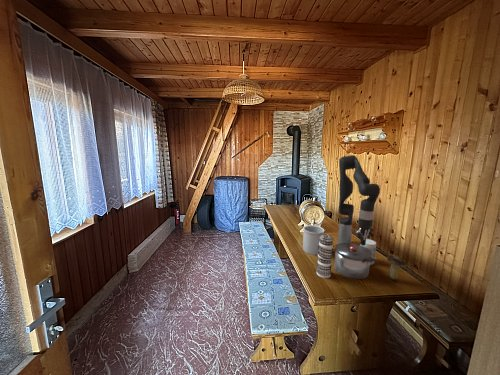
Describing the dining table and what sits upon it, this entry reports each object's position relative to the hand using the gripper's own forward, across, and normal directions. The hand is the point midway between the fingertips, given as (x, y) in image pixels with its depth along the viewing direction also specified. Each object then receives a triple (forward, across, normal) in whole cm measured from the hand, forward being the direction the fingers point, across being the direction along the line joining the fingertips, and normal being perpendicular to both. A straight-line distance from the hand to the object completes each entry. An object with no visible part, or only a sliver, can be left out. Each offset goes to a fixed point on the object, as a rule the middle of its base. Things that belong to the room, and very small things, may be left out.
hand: (362, 244), depth 130 cm
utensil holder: (+20, +6, -36) cm, 42 cm away
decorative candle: (+20, +20, -9) cm, 30 cm away
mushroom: (+20, -14, +12) cm, 27 cm away
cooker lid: (+7, 0, -5) cm, 9 cm away
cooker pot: (+20, 0, -6) cm, 21 cm away
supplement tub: (+20, -18, -9) cm, 28 cm away
